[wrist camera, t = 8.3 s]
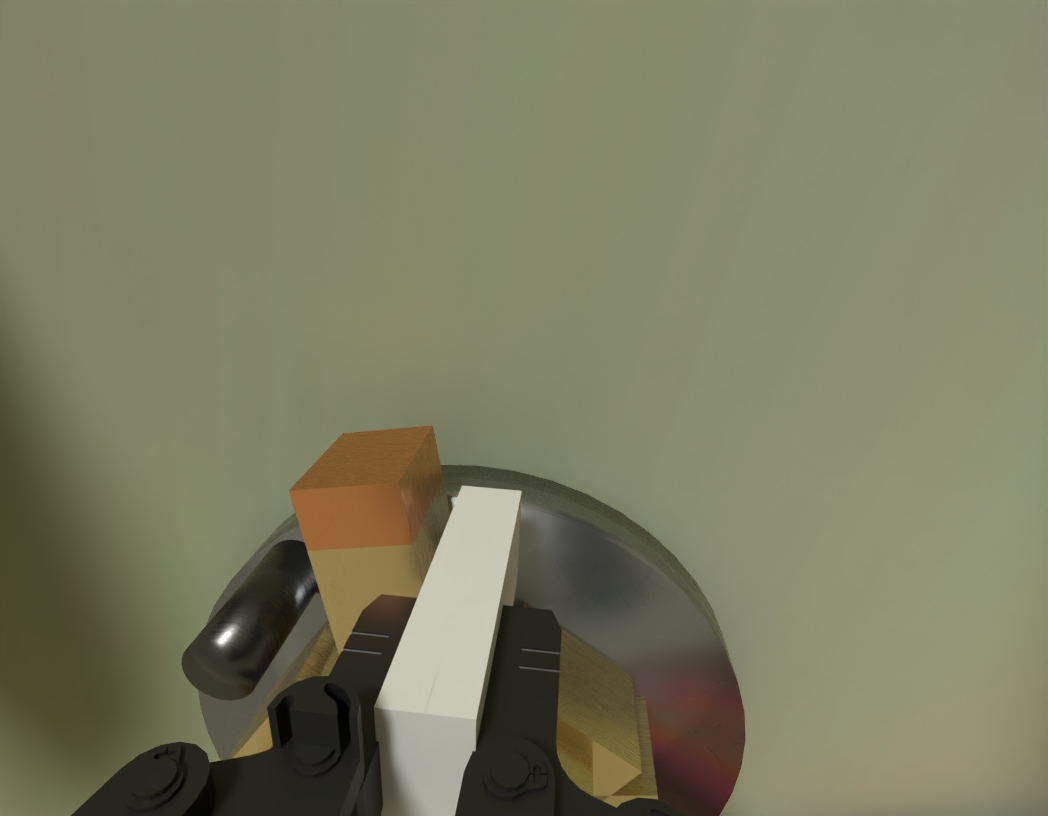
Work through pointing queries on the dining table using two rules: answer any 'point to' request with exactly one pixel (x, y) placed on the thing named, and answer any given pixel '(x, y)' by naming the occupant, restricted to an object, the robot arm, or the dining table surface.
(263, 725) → the tan brick ring
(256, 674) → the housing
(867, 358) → the dining table surface
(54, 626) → the dining table surface
